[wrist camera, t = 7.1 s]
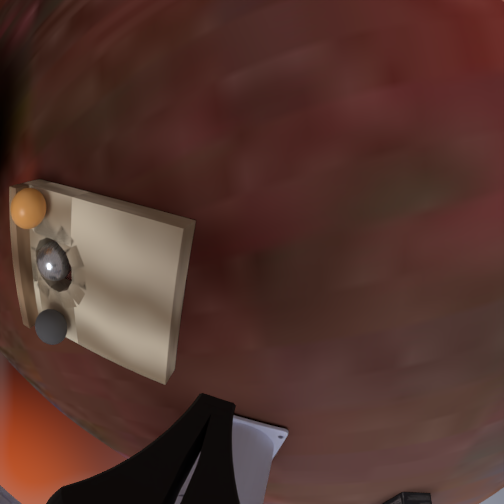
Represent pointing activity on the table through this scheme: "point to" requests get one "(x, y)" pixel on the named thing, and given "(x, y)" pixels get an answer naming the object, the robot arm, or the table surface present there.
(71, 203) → the bearing plate
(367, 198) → the table surface
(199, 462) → the robot arm
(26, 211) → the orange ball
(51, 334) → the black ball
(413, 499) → the small box
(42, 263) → the steel ball
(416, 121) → the table surface
